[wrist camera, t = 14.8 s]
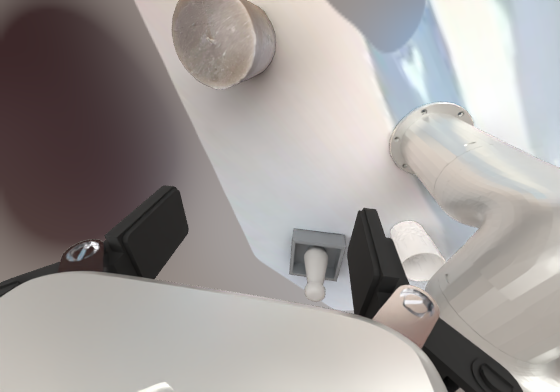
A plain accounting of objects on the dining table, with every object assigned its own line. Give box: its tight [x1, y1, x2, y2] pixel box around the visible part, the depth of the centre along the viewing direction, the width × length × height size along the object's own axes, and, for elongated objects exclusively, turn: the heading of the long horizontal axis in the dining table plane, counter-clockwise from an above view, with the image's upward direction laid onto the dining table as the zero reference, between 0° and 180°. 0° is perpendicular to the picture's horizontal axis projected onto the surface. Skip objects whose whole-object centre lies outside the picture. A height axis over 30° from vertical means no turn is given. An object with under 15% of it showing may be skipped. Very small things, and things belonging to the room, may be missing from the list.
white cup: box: [390, 221, 446, 281], centre depth 47 cm, size 8×8×10 cm
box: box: [289, 229, 346, 281], centre depth 56 cm, size 12×12×4 cm
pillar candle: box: [172, 0, 276, 90], centre depth 30 cm, size 10×10×15 cm
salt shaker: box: [304, 245, 328, 302], centre depth 52 cm, size 6×6×13 cm
